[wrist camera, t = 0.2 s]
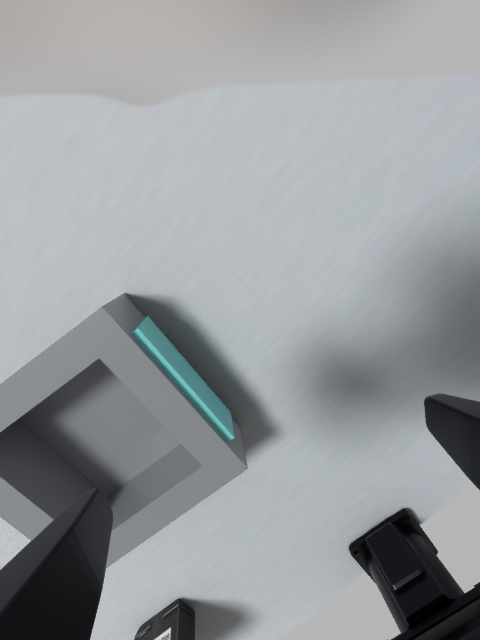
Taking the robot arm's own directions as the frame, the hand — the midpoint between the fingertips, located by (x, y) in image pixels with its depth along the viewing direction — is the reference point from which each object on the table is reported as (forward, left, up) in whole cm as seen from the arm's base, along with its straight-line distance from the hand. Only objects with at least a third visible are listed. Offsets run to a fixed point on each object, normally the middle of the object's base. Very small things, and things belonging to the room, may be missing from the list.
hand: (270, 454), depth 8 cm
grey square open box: (0, +11, -14) cm, 17 cm away
